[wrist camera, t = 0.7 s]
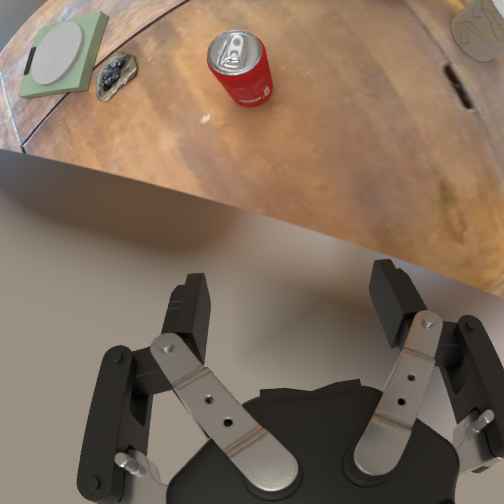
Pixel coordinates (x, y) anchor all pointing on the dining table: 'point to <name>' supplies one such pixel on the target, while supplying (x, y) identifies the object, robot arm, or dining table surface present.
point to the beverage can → (241, 66)
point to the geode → (114, 74)
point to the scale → (63, 56)
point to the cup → (480, 29)
